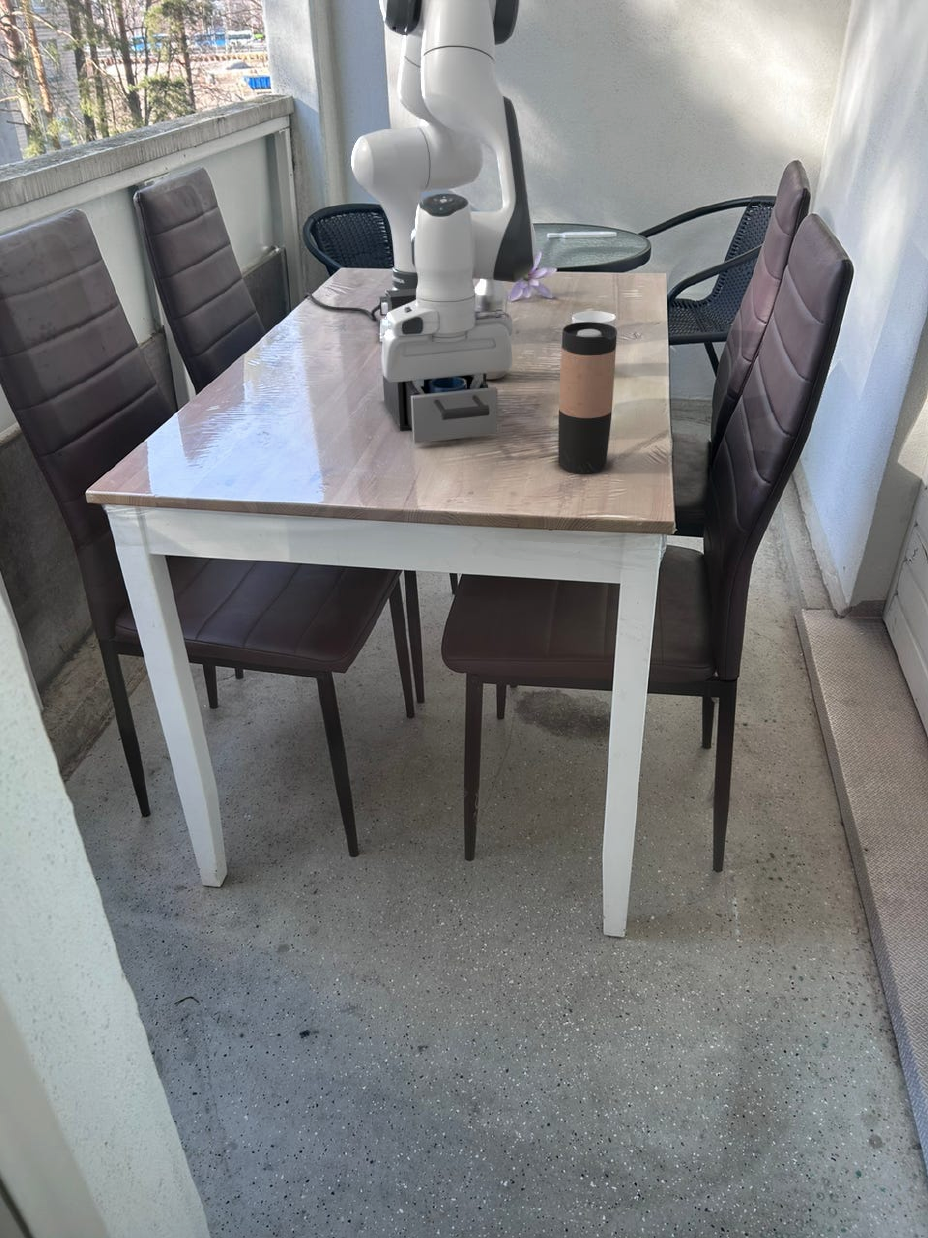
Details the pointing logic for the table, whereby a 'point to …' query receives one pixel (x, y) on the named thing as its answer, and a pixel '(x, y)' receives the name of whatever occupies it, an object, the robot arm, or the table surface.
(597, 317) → the white cup
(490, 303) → the silver water bottle
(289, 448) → the table surface
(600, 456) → the travel mug
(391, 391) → the dark grey box
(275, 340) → the table surface
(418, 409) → the grey drawer
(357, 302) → the table surface
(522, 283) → the water lily
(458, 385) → the blue cup
